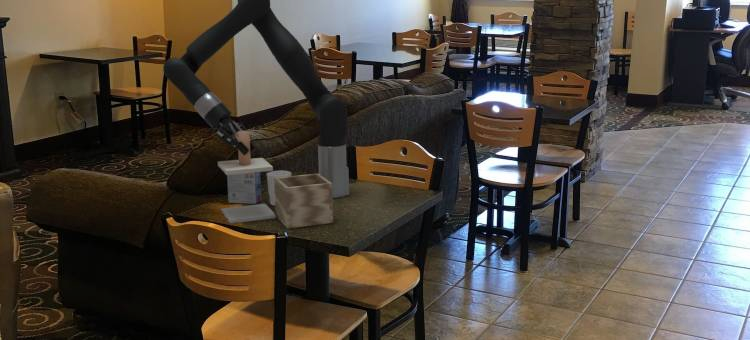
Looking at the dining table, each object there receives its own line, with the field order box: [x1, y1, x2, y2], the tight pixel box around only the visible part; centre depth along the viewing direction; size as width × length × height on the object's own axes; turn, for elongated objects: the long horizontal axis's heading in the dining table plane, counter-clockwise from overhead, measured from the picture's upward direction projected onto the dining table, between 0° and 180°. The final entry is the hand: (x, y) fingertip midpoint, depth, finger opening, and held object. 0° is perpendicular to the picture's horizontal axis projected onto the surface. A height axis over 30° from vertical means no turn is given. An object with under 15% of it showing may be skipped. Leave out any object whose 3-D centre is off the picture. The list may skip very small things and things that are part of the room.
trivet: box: [220, 203, 277, 224], centre depth 251 cm, size 14×14×1 cm
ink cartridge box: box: [226, 172, 263, 205], centre depth 265 cm, size 10×6×14 cm, turn 78°
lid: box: [217, 130, 274, 176], centre depth 246 cm, size 14×14×11 cm
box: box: [274, 173, 334, 229], centre depth 243 cm, size 14×14×12 cm
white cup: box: [266, 170, 292, 207], centre depth 262 cm, size 8×8×10 cm
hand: (250, 151), depth 246 cm, fingers closed on lid, 3 cm apart
